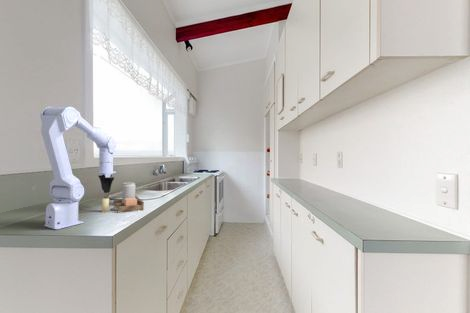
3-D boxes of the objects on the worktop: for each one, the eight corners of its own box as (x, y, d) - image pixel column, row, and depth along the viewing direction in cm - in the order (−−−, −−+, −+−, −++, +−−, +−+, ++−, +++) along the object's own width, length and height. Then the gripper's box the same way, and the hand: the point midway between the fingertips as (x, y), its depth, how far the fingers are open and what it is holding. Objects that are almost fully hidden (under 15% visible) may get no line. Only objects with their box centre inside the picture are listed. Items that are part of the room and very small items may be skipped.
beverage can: (137, 204, 123) (138, 182, 123) (130, 207, 117) (131, 183, 117) (126, 203, 124) (126, 181, 124) (119, 206, 118) (119, 183, 118)
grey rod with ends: (101, 213, 104) (102, 200, 104) (100, 210, 108) (101, 198, 108) (136, 209, 113) (137, 197, 113) (134, 207, 117) (135, 195, 117)
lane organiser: (118, 212, 106) (118, 204, 106) (113, 204, 121) (113, 197, 121) (143, 210, 112) (143, 202, 112) (135, 202, 127) (135, 195, 127)
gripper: (118, 163, 103) (117, 193, 103) (113, 161, 115) (113, 188, 115) (100, 163, 99) (99, 194, 99) (97, 161, 111) (97, 189, 111)
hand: (105, 191), depth 107 cm, fingers open, 7 cm apart
